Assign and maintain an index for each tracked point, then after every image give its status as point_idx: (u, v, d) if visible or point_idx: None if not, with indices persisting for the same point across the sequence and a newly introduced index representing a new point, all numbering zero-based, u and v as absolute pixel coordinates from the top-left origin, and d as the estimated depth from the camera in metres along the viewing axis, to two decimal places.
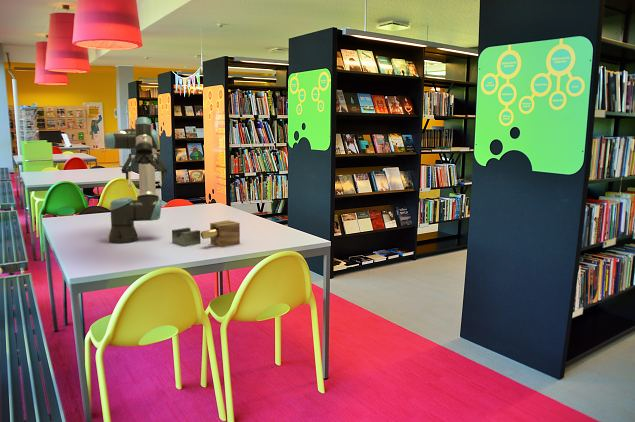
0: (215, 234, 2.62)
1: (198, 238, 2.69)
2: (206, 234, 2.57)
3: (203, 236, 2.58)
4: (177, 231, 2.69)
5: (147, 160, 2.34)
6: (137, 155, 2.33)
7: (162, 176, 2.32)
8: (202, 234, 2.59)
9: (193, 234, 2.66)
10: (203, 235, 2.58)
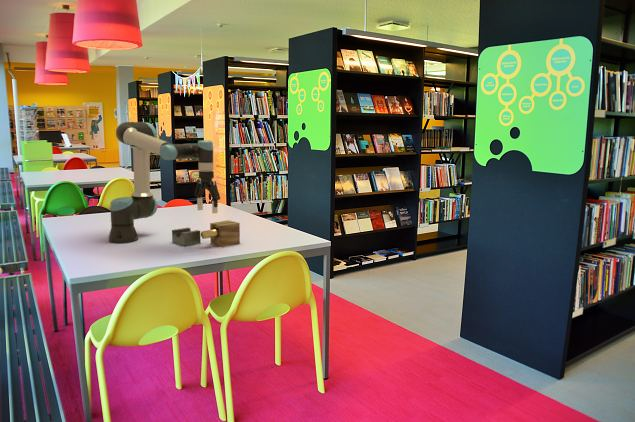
0: (215, 234, 2.62)
1: (198, 238, 2.69)
2: (206, 234, 2.57)
3: (203, 236, 2.58)
4: (177, 231, 2.69)
5: None
6: None
7: None
8: (202, 234, 2.59)
9: (193, 234, 2.66)
10: (203, 235, 2.58)
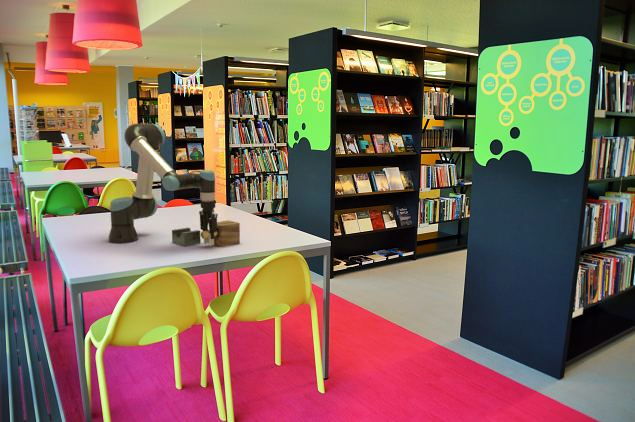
0: (215, 234, 2.62)
1: (198, 238, 2.69)
2: (206, 234, 2.57)
3: (203, 236, 2.58)
4: (177, 231, 2.69)
5: None
6: None
7: None
8: (202, 234, 2.59)
9: (193, 234, 2.66)
10: (203, 235, 2.58)
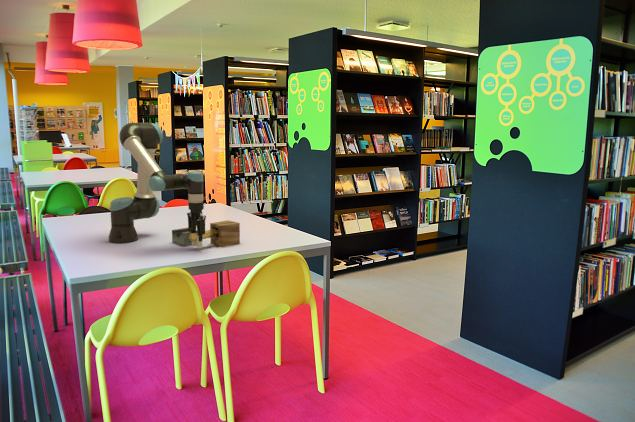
0: (203, 236, 2.57)
1: None
2: (194, 236, 2.52)
3: (191, 238, 2.53)
4: (177, 231, 2.69)
5: None
6: None
7: None
8: (190, 236, 2.54)
9: None
10: (191, 238, 2.53)
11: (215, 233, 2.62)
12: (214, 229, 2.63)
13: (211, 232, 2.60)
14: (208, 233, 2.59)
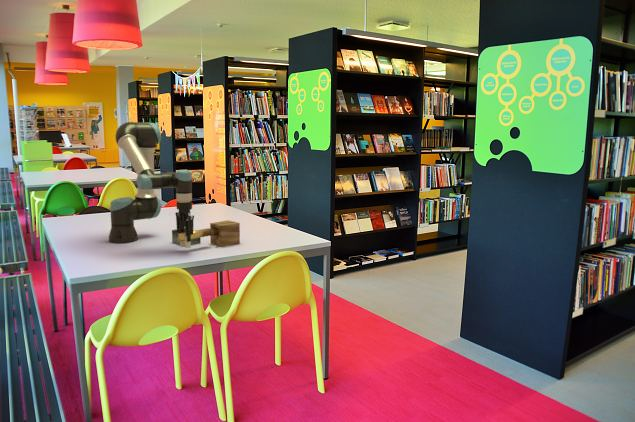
0: (192, 236, 2.52)
1: (198, 238, 2.69)
2: (182, 236, 2.47)
3: (179, 239, 2.48)
4: None
5: None
6: None
7: None
8: (178, 237, 2.49)
9: None
10: (179, 238, 2.48)
11: (203, 233, 2.57)
12: (203, 229, 2.58)
13: (200, 232, 2.55)
14: (197, 233, 2.54)
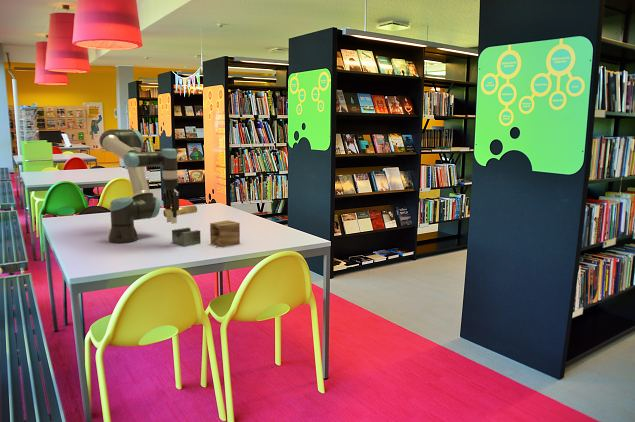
0: (178, 212, 2.62)
1: (198, 238, 2.69)
2: (168, 212, 2.58)
3: (165, 214, 2.59)
4: (177, 231, 2.69)
5: None
6: None
7: None
8: (164, 212, 2.59)
9: (193, 234, 2.66)
10: (166, 214, 2.58)
11: (189, 210, 2.67)
12: (189, 206, 2.68)
13: (186, 209, 2.65)
14: (183, 210, 2.64)
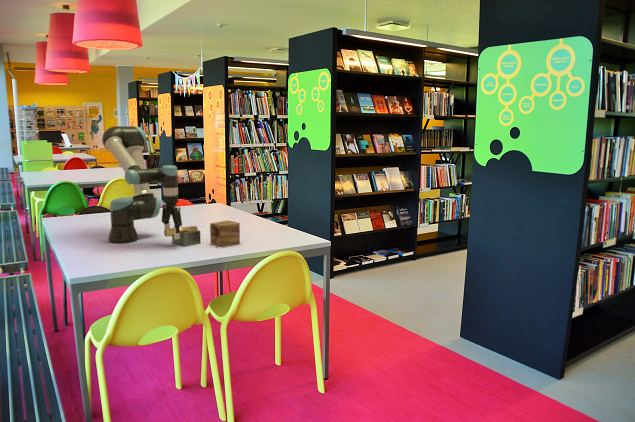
0: None
1: (198, 238, 2.69)
2: (168, 231, 2.60)
3: (166, 234, 2.60)
4: None
5: None
6: None
7: None
8: (165, 232, 2.61)
9: (193, 234, 2.66)
10: (166, 233, 2.60)
11: (190, 230, 2.69)
12: (190, 226, 2.70)
13: (186, 229, 2.67)
14: (183, 230, 2.66)
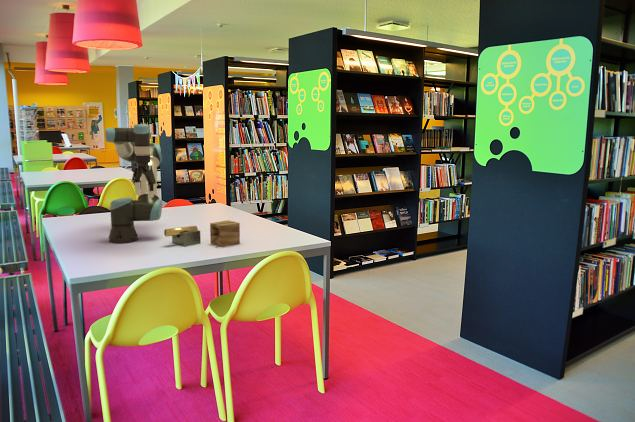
0: (178, 232, 2.64)
1: (198, 238, 2.69)
2: (168, 231, 2.60)
3: (166, 234, 2.60)
4: None
5: None
6: None
7: None
8: (165, 232, 2.61)
9: (193, 234, 2.66)
10: (166, 233, 2.60)
11: (190, 230, 2.69)
12: (190, 226, 2.70)
13: (186, 229, 2.67)
14: (183, 230, 2.66)
